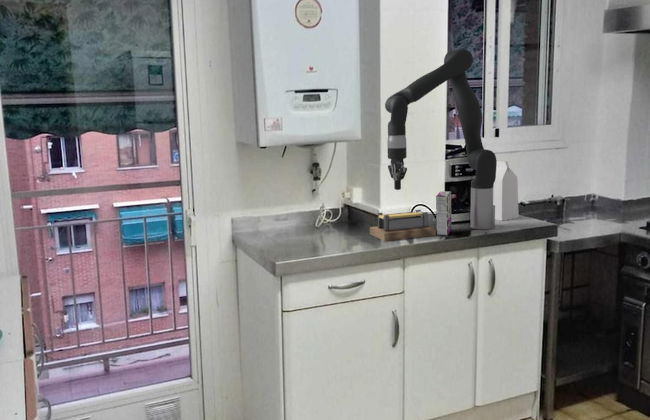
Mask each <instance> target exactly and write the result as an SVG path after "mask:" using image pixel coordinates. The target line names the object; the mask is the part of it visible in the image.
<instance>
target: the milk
mask: <svg viewBox="0 0 650 420" xmlns="http://www.w3.org/2000/svg"><path fill="white" fill-rule="evenodd" d="M518 183H519V181H518V176H517V175H516V174H515V173H514V171H513V170H512V169H511V168H510V167H509V163H508V161H506V160H497V166H496V179H495V182H494V187H493V205H495V219H496V220H495V221H499V220H504V221H508V220H507V219H509V220H513V219H512V218H514V219H518V218H517V217H519V189H518V186H519V184H518ZM519 218H520V217H519Z"/></svg>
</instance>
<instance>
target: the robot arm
mask: <svg viewBox="0 0 650 420" xmlns="http://www.w3.org/2000/svg"><path fill="white" fill-rule="evenodd" d="M473 63H474V56H473V54H472V53H471V52H470V51H469V50H468V49H465V48H458V49H453V50H449V51H448V52H447V53H446V54H445V56H444V58H443V64H442V65H440V66H438V67H437V68H435V69H433V70H432V71H430V72H428V73H426V74H424V75H422V76H420V77H419V78H417V79H416V80H414V81H413V82H412V83H410V84H409V85H407V86H406V87H405V88H403V89H401V90H399V91H398V92H395V93H393V94H392V95H390V96H389V97H388V98H387V99H386V101H385V103H384V108H385V110H386V112H388V113H389V114H390V120H389V122H388V123H387V142H386V143H387V159H388V160H390V165H388V166H387V169H388V171H389V175H390V177H391V179H393V181H394V182H393V185H394V187H393V188H394V190H396V191H398V190H399V191H400V190H402V182H401V181H402V180H404V179H405V176H406V173H407V170H408V167H405V166H404V165H405V162H404V160H405V159H407V156H408V155H407V137H406V136H407V135H406V132H407V131H406V127H407V126H406V122H407V118H408V113H409V112H408V111H409V110H408V109H409V105H410V104H413V103H416V102H418V101H420V100H421V99H422V98H424V97H425V96H426V95H428V94H430V92H432V91H433V90H435V89H436V88H438V87H439V86H441V85H442V84H443V83H445V82H447V81H449V84H450V86H451V89H452V90H451V91H452V94H453V98H454V102H455V106H456V111H457V116H458V119H459V123H460V127H461V130H462V136H463V138H464V143H465V151H466V156H467V158H466V159H467V163H468V166H469V168H471V169H472V170H473V171H475V177H474V179H472V180H471V181H470V220H469V221H470V223H469V224H470V228H471V229H474V230H475V229H476V230H490V229H493V228H495V227H496V225H495V224H496V220H495V205H493V187H494V182H495V179H496V166H497V161H498V160H497V156H496V153H494V152H493V151H492V150H491V149H485V148H484V145H483V141H482V138H481V137H482V135H481V131H482V125H483V113H482V109H481V105H480V101H479V99H478V97H477V95H476V93H475V92H474V90H473V89H472V87H471V85H470V84H469V81H468V78H467V74H466V72H467V71H468V70H469V69H470V68H471V67H472V66H473Z"/></svg>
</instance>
